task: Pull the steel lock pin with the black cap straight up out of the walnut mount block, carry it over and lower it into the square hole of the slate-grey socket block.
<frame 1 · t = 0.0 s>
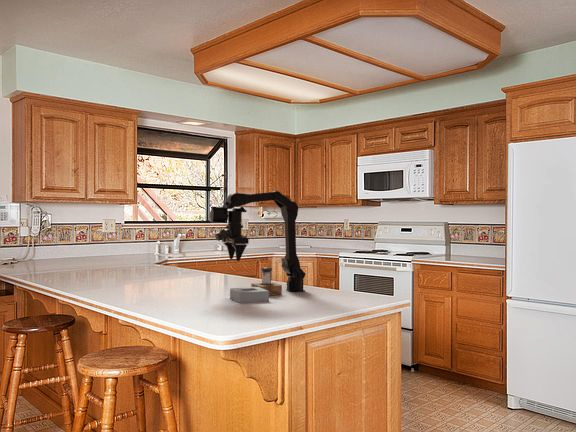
hand: (234, 260, 219), 14 cm above the table, tool pointing down, fingers open, 9 cm apart
socket block: (249, 299, 206), on the table
pin mount: (266, 293, 222), on the table
lock pin: (266, 280, 222), in the pin mount
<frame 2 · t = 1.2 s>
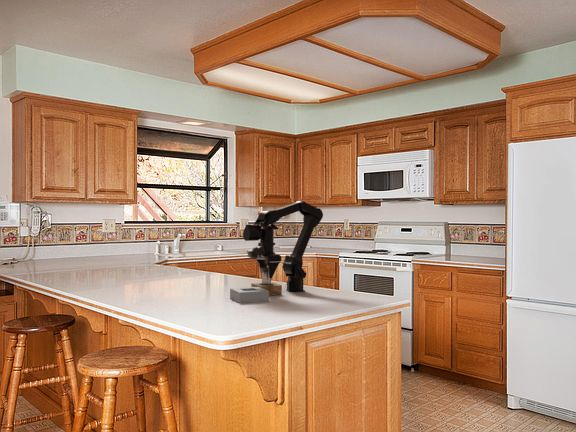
hand: (266, 276, 222), 7 cm above the table, tool pointing down, fingers open, 9 cm apart
nothing on the table moved.
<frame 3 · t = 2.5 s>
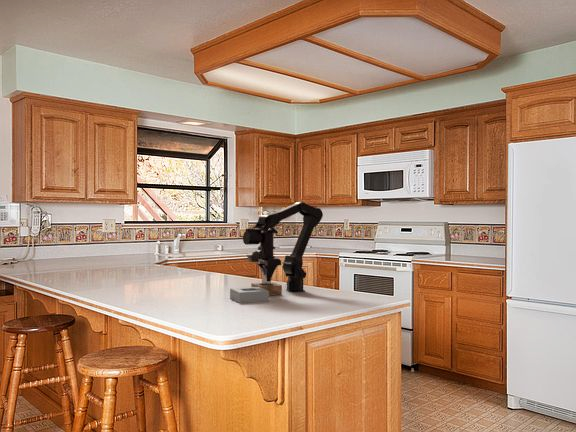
hand: (266, 280, 222), 6 cm above the table, tool pointing down, fingers closed on lock pin, 4 cm apart
lock pin: (266, 280, 222), in the pin mount, touching gripper
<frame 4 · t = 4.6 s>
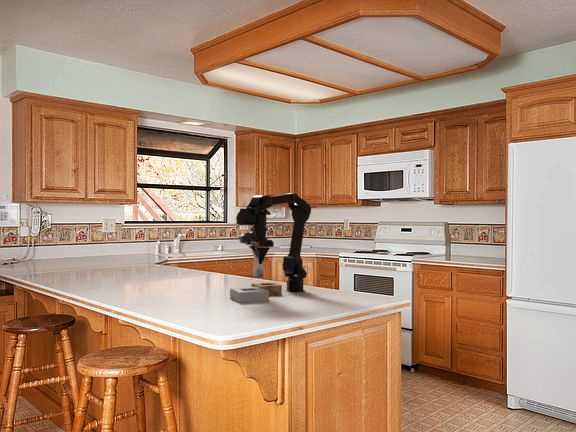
hand: (258, 263, 215), 14 cm above the table, tool pointing down, fingers closed on lock pin, 4 cm apart
lock pin: (258, 263, 215), point 14 cm above the table, touching gripper
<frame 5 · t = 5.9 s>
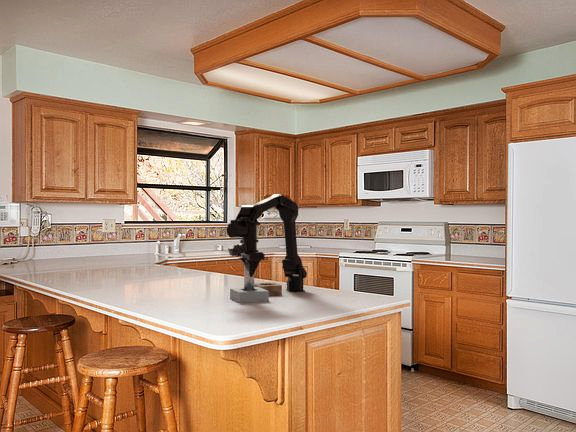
hand: (249, 276, 206), 9 cm above the table, tool pointing down, fingers closed on lock pin, 4 cm apart
lock pin: (249, 276, 206), point 9 cm above the table, touching gripper
when the fingers open (6 cm above the table, at t = 6.7 s): lock pin drops 1 cm, resting in socket block.
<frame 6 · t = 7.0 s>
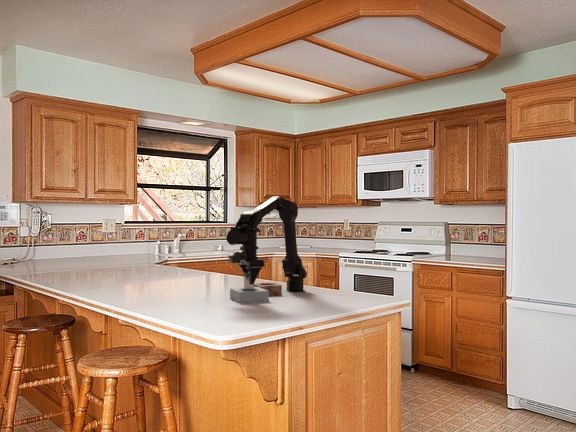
hand: (249, 283, 206), 6 cm above the table, tool pointing down, fingers open, 7 cm apart
lock pin: (249, 285, 206), in the socket block
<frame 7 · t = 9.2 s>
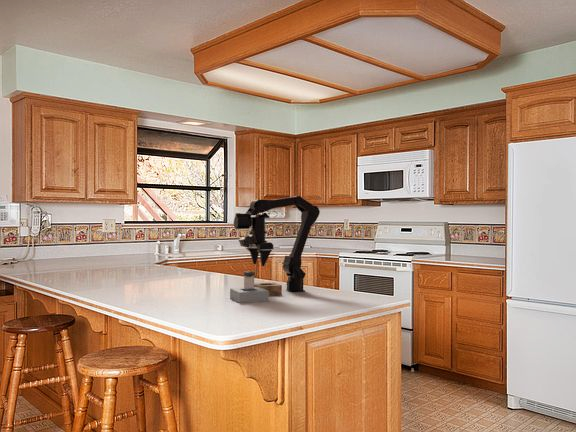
hand: (258, 265, 224), 12 cm above the table, tool pointing down, fingers open, 9 cm apart
nothing on the table moved.
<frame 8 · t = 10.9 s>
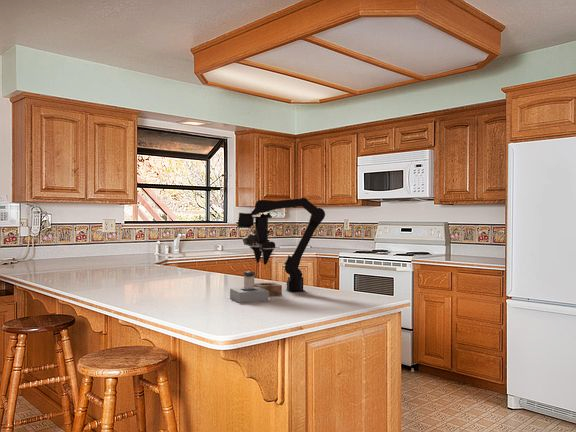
hand: (261, 263, 230), 12 cm above the table, tool pointing down, fingers open, 9 cm apart
nothing on the table moved.
at the end: lock pin 0.1 cm off-centre on the socket block, point 5.5 cm above the socket block's base; lock pin tilted 0°; the gripper is holding nothing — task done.
